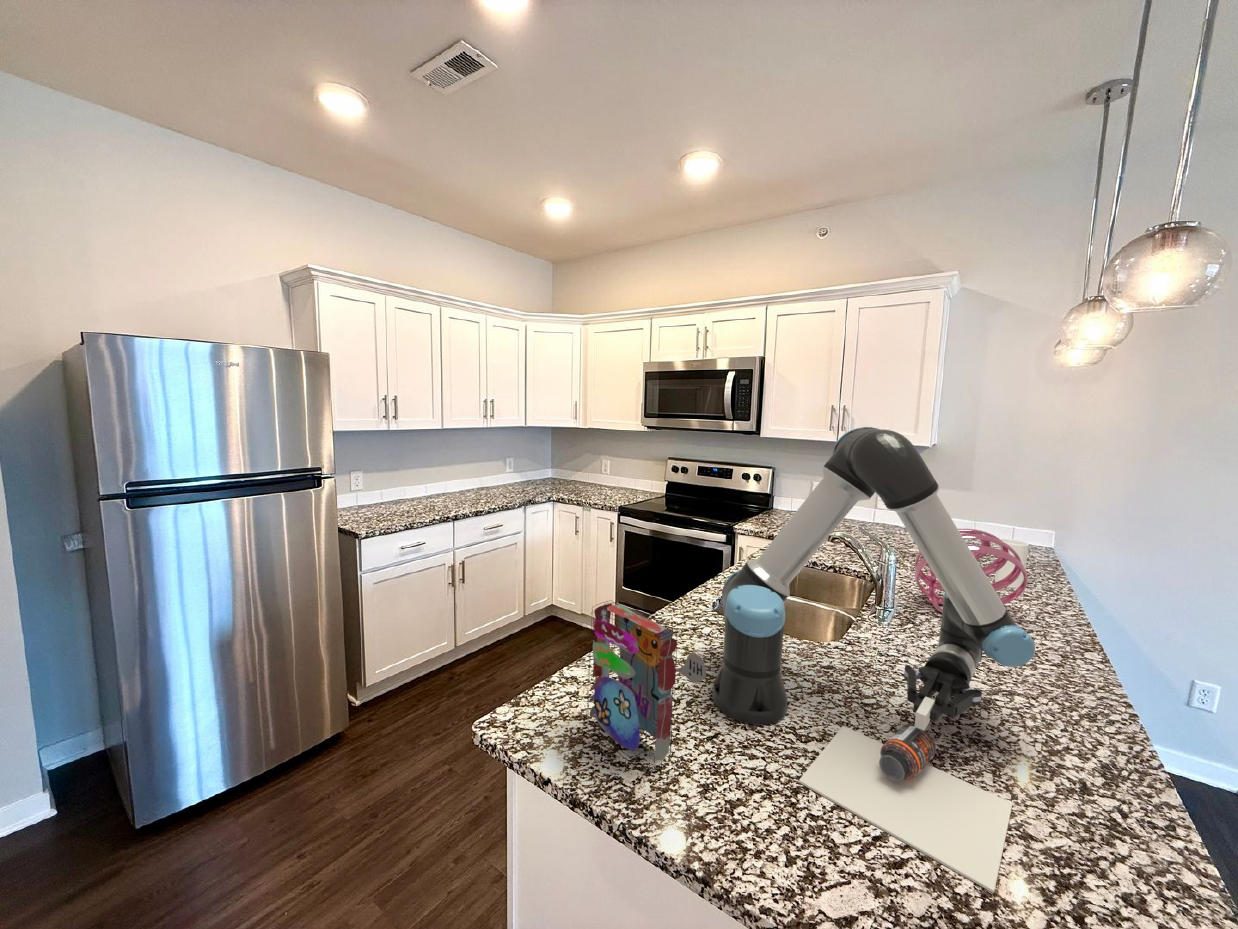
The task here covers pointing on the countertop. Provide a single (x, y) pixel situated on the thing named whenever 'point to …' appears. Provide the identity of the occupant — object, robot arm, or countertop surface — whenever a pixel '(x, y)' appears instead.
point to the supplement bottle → (906, 753)
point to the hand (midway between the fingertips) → (920, 721)
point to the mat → (915, 806)
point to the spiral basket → (978, 553)
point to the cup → (1022, 551)
